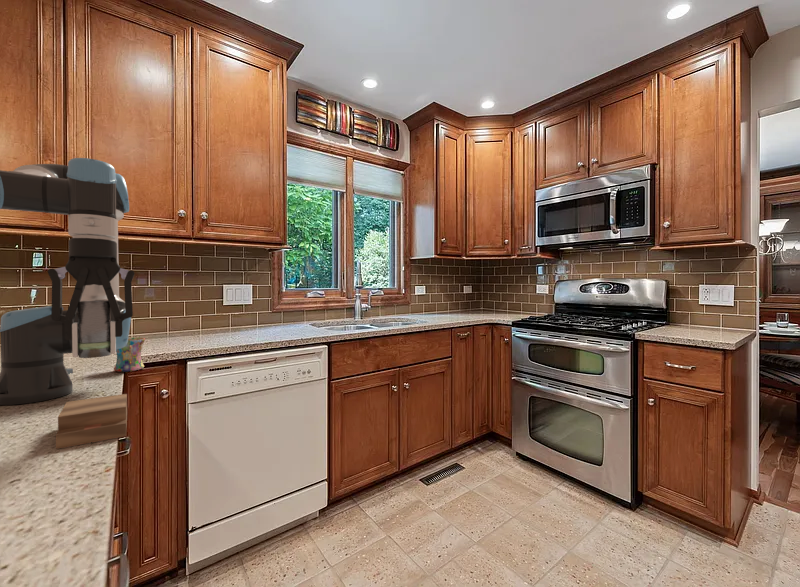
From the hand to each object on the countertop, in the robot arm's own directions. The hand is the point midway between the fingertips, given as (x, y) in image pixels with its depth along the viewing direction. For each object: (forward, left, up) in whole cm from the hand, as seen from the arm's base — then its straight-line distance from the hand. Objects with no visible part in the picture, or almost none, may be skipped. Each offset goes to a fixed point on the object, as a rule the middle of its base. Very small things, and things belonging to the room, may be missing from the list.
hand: (95, 354), depth 76 cm
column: (0, 0, 0) cm, 0 cm away
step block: (+1, 0, -15) cm, 15 cm away
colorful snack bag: (-59, +5, -15) cm, 62 cm away
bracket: (-64, -15, -16) cm, 67 cm away
